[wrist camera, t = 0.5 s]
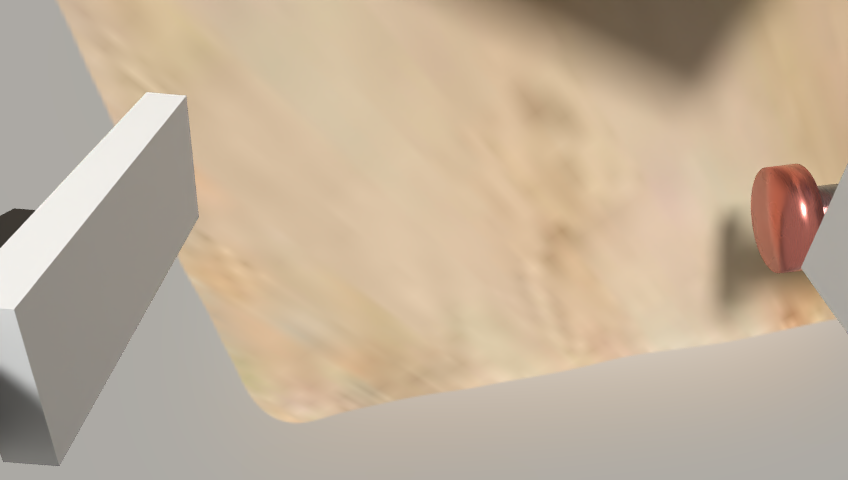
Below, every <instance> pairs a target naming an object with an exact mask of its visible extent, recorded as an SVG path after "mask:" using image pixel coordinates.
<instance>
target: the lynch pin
mask: <svg viewBox="0 0 848 480" xmlns="http://www.w3.org/2000/svg"><path fill="white" fill-rule="evenodd" d="M837 186H838V184H831V185H823V186H817V185H816V182H815V181H814V179H813V177H812V175H811V174H810V172H809V171H808V170H807V169H806V168H805V167H804V166H802V165H800V164H790V165H782V166H774V167H765V168H762V169H761V170H760V171H759V172H758V174H757V175H756V178H755V180H754V183H753V188H752V195H751V217H752V226H753V231H754V236H755V240H756V243H757V247H758V249H759V252H760V254H761V257H762V259H763V260H764V262H765V264H766V265H767V266H768V268H769V269H770V270H772V271H773V272H775V273H785V272H794V271H803V270H802V269H801V266H802V264H803V262H804V260H805V257H806V255H807V253H808V251H809V249H810V246H811V244H812V242H813V240H814V237H815V235H816V233H817V231H818V229H819V226H820V224H821V222H822V220H823V217H824V215H825V213H826V211H827V209H828V206H829V204H830V202H831V200H832V197H833V195H834V193H835V191H836V189H837Z"/></svg>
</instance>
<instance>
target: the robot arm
mask: <svg viewBox="0 0 848 480" xmlns="http://www.w3.org/2000/svg"><path fill="white" fill-rule="evenodd" d="M198 217H199V214H198V205H197V195H196V185H195V175H194V166H193V156H192V146H191V136H190V127H189V117H188V107H187V97H186V96H184V95H172V94H161V93H150V92H146V94H145V95H144V96H143V97H142V98H141V99H140V100H139V101H138V102H137V103H136V104H135V105H134V106H133V107H132V108H131V109H130V111H129V112H128V113H127V114H126V115H125V116H124V117H123V118H122V119H121V120H120V121H119V122H118V123H117V124H116V125H115V127H114V128H113V129H112V130H111V131H110V132H109V133H108V134H107V135H106V136H105V137H104V138H103V139H102V140H101V141H100V143H99V144H98V145H97V146H96V147H95V148H94V149H93V150H92V151H91V152H90V153H89V154H88V155H87V156H86V157H85V158H84V160H83V161H82V162H81V163H80V164H79V165H78V166H77V167H76V168H75V169H74V170H73V171H72V172H71V174H70V175H69V176H68V177H67V178H66V179H65V180H64V181H63V182H62V183H61V184H60V185H59V186H58V187H57V188H56V189H55V190H54V192H53V193H52V194H51V195H50V196H49V197H48V198H47V199H46V200H45V201H44V202H43V203H42V204H41V205H40V206H39V208H38V209H37V210H25V209H12V210H11V211H9V212H7V213H5V214H3V215H1V216H0V454H1V457H2V460H3V462H13V463H25V464H38V465H52V466H60V464H61V462H62V460H63V459H64V457H65V455H66V453H67V451H68V450H69V448H70V446H71V444H72V442H73V441H74V439H75V437H76V435H77V434H78V432H79V430H80V428H81V426H82V425H83V423H84V421H85V419H86V417H87V416H88V414H89V412H90V410H91V409H92V407H93V405H94V403H95V401H96V399H97V398H98V396H99V394H100V392H101V391H102V389H103V387H104V385H105V384H106V382H107V380H108V378H109V376H110V374H111V373H112V371H113V369H114V367H115V366H116V364H117V362H118V360H119V359H120V357H121V355H122V353H123V351H124V350H125V348H126V346H127V344H128V342H129V341H130V339H131V337H132V335H133V333H134V332H135V330H136V328H137V326H138V325H139V323H140V321H141V319H142V317H143V316H144V314H145V312H146V310H147V308H148V306H149V305H150V303H151V301H152V300H153V298H154V296H155V294H156V292H157V291H158V289H159V287H160V285H161V283H162V281H163V280H164V278H165V276H166V275H167V273H168V270H169V269H170V267H171V266H172V264H173V262H174V260H175V258H176V257H177V255H178V253H179V251H180V249H181V248H182V246H183V244H184V242H185V241H186V239H187V237H188V235H189V233H190V232H191V230H192V228H193V226H194V224H195V223H196V221H197V219H198ZM801 269H802V270H803V272H804V273H805V274H806V276H807V277H808V279H809V280H810V282H811V283H812V284H813V286H814V287H815V289H816V290H817V291H818V293H819V294H820V296H821V297H822V298H823V300H824V301H825V303H826V304H827V305H828V307H829V308H830V310H831V311H832V313H833V314H834V315H835V317H836V318H837V320H838V321H839V322H840V324H841V325H842V327H843V328H844V329H845V331H846V332H847V334H848V164H847V166H846V169H845V171H844V173H843V175H842V177H841V180H840V182H839V184H838V186H837V189H836V191H835V193H834V195H833V197H832V200H831V202H830V204H829V206H828V209H827V211H826V213H825V215H824V217H823V220H822V222H821V224H820V226H819V229H818V231H817V233H816V235H815V237H814V240H813V242H812V244H811V246H810V249H809V251H808V253H807V255H806V257H805V260H804V262H803V264H802V266H801Z"/></svg>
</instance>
